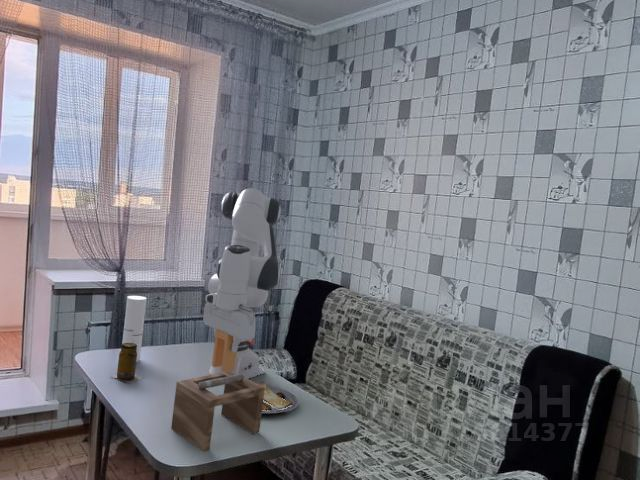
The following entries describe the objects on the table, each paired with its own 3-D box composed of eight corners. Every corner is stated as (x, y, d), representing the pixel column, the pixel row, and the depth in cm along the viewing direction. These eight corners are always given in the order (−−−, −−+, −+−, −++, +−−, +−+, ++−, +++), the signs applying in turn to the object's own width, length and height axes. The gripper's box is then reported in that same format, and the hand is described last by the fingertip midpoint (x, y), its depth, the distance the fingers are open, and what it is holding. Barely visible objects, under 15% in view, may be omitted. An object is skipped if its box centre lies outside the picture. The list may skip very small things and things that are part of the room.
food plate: (214, 392, 176) (216, 382, 176) (270, 385, 190) (272, 377, 190) (249, 424, 156) (251, 413, 156) (308, 414, 171) (310, 404, 170)
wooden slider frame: (226, 413, 161) (232, 364, 160) (259, 432, 150) (265, 381, 149) (171, 428, 146) (177, 374, 145) (203, 451, 135) (210, 393, 134)
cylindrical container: (123, 356, 201) (130, 295, 200) (141, 357, 202) (148, 297, 200) (118, 361, 194) (125, 298, 192) (137, 363, 195) (144, 300, 193)
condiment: (126, 372, 184) (130, 340, 184) (143, 378, 181) (147, 346, 180) (110, 377, 178) (114, 344, 177) (127, 383, 174) (131, 350, 173)
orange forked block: (222, 364, 150) (227, 328, 149) (234, 370, 146) (238, 333, 146) (211, 366, 147) (216, 329, 146) (223, 372, 143) (228, 334, 143)
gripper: (263, 308, 141) (257, 356, 142) (219, 293, 155) (214, 337, 155) (246, 310, 136) (239, 359, 137) (202, 294, 150) (196, 339, 151)
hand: (225, 347), depth 146 cm, fingers closed on orange forked block, 5 cm apart
